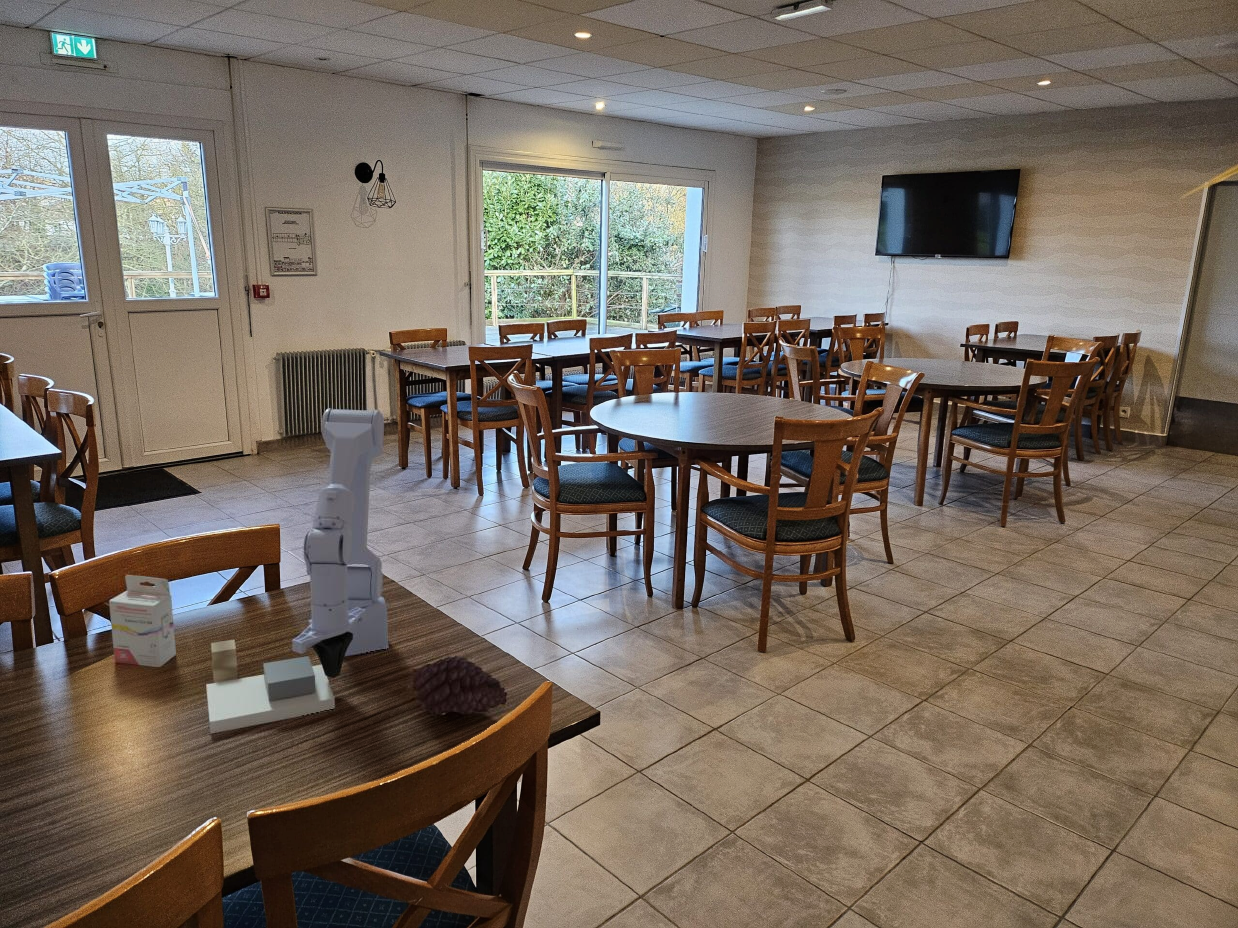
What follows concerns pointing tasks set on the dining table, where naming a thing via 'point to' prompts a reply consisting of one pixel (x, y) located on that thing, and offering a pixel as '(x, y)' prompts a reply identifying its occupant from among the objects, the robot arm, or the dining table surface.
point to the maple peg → (224, 661)
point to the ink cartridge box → (143, 623)
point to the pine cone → (456, 687)
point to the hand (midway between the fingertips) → (332, 674)
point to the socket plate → (262, 702)
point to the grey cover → (289, 678)
